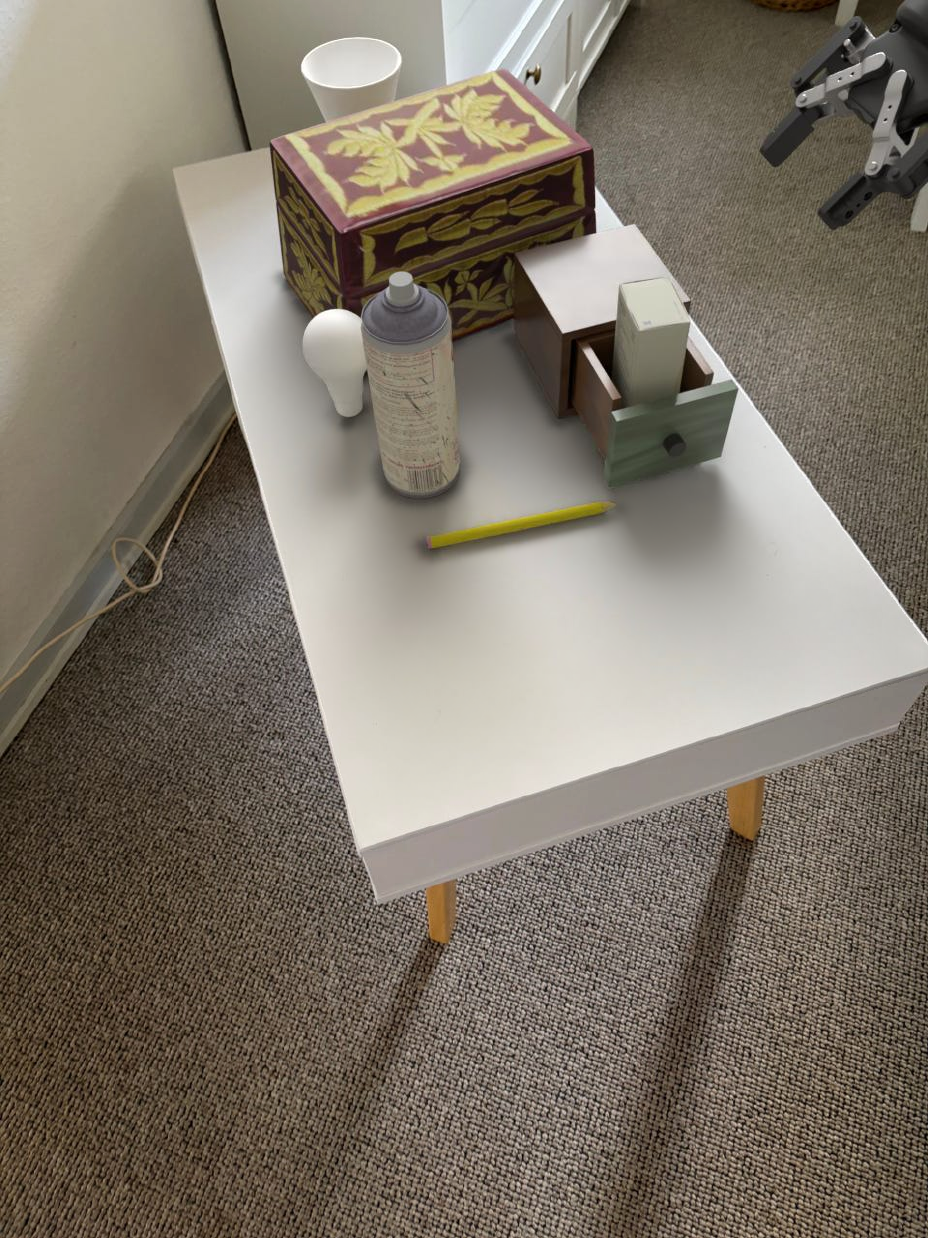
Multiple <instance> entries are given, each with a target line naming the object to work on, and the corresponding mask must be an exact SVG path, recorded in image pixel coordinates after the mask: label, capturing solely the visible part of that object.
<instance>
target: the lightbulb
mask: <svg viewBox="0 0 928 1238" xmlns="http://www.w3.org/2000/svg"><path fill="white" fill-rule="evenodd" d="M361 324H362V320H361V318H360V317H358V316H357V315H356V314H354V313H352V312H350V311H347V310H343V309H331V310H327V311H324V312H321V313H320V314H318V315H317V316H315V317H314V318H313V317H312V319H311V320H310V322H309V323H308V324H307V325H306V328H305V329H304V332H303V333H304V334H303V337H302V353H303V356H304V359H305V361H306V364H307V365H308V367H309V368H310V369H311V370H312V371H313V372H314V373H315V374H316V375H317V377H319V378H321V379H322V380H323V382H324V383H325V385H326V387H327V391H328V393H329V396H330V398H331V399H332V401H333V404H334V407H335V410H336V413H337V414H339V416H342V417H345V418H350V417H354V416H358V414H359V413H361V411H362V410H363V408H364V405H363V392H364V376H365V375H364V373H365V371H366V369H367V365H366V359H365V352H364V346H363V340H362V333H361Z"/></svg>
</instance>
